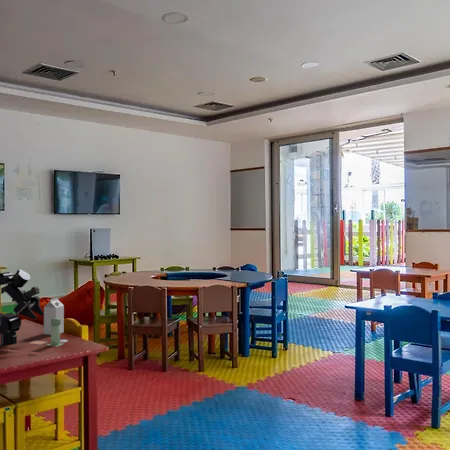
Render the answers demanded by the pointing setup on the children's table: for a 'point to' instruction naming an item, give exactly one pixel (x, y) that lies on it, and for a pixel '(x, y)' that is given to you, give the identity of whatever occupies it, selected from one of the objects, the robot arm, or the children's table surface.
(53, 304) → the milk carton
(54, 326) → the green joystick knob
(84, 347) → the children's table surface
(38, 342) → the white flat rectangular board
